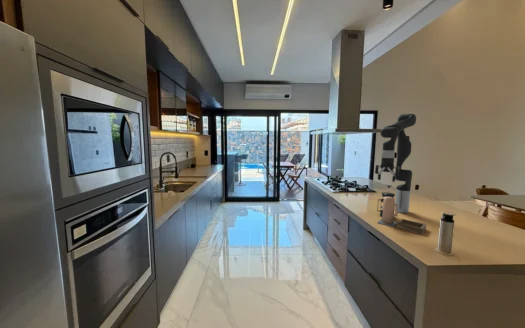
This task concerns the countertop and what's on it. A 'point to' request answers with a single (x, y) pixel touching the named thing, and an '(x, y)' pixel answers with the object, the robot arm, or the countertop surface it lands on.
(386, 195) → the french press
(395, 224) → the mat
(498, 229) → the countertop surface
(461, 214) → the countertop surface
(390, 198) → the jug
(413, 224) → the wooden tray
